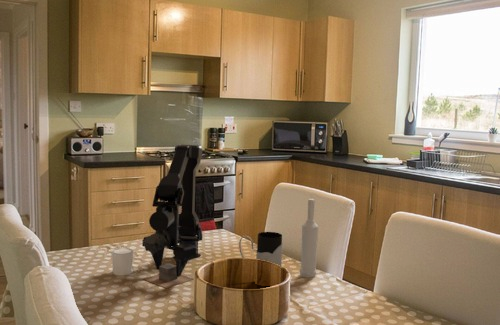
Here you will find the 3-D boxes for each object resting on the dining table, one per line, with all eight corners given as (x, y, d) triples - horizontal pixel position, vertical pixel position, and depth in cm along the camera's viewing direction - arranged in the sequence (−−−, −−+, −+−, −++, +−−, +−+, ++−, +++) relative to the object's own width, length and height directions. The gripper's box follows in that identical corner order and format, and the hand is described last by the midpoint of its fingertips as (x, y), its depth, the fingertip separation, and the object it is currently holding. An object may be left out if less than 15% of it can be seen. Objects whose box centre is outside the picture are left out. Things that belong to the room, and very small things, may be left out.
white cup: (127, 277, 161) (127, 255, 160) (107, 275, 162) (107, 253, 161) (136, 270, 167) (137, 249, 167) (117, 268, 169) (117, 247, 168)
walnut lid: (169, 273, 168) (170, 258, 167) (193, 281, 161) (193, 266, 160) (142, 281, 159) (142, 266, 159) (166, 290, 152) (166, 274, 152)
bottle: (318, 274, 169) (321, 199, 166) (313, 279, 164) (316, 201, 161) (302, 271, 171) (306, 197, 168) (297, 276, 166) (301, 199, 164)
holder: (278, 288, 155) (279, 239, 153) (233, 282, 159) (234, 234, 158) (285, 279, 163) (287, 233, 161) (242, 273, 168) (244, 228, 166)
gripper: (128, 222, 158) (128, 272, 159) (169, 233, 146) (168, 287, 148) (156, 216, 166) (156, 264, 168) (197, 227, 154) (196, 277, 156)
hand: (168, 272), depth 160 cm, fingers open, 9 cm apart
